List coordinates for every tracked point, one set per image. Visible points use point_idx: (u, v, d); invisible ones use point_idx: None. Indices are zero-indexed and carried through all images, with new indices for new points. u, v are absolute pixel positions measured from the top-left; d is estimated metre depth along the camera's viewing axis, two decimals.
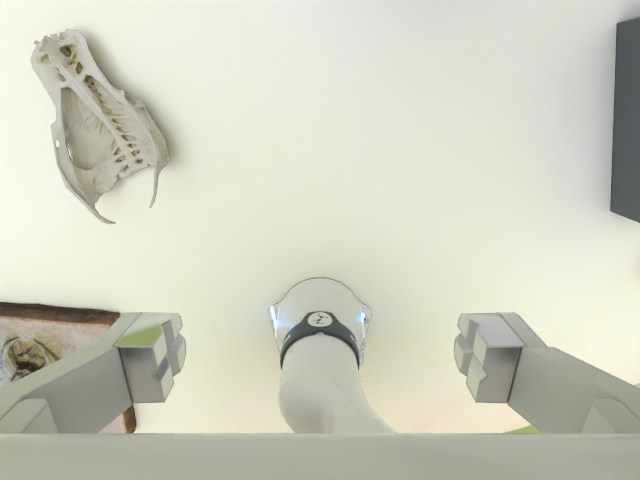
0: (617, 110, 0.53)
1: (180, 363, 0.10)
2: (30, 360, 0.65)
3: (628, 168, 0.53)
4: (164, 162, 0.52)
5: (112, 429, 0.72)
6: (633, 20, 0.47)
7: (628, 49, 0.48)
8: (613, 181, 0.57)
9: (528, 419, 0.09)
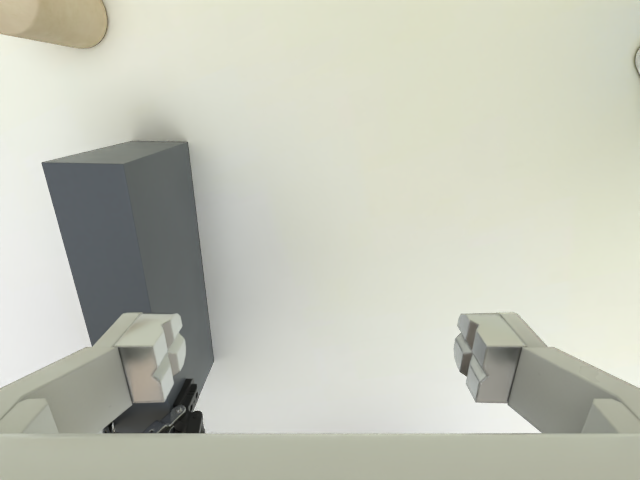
0: (202, 285, 0.42)
1: (180, 363, 0.10)
2: None
3: (185, 226, 0.36)
4: None
5: None
6: (207, 375, 0.44)
7: (205, 350, 0.43)
8: (192, 193, 0.38)
9: (528, 419, 0.09)
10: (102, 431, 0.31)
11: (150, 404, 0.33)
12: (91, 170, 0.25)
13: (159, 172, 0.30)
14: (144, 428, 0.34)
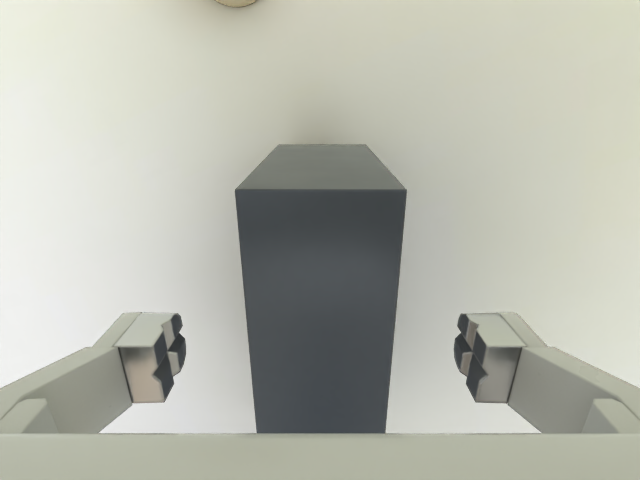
0: None
1: (180, 363, 0.10)
2: None
3: None
4: None
5: None
6: None
7: None
8: None
9: (528, 419, 0.09)
10: None
11: None
12: (336, 204, 0.12)
13: None
14: None
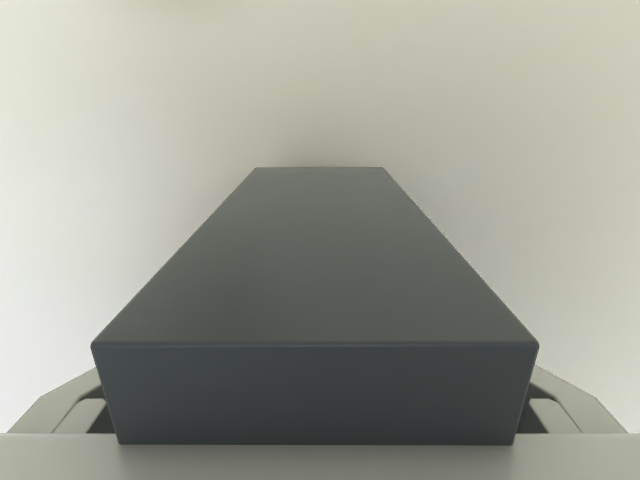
0: None
1: None
2: None
3: None
4: None
5: None
6: None
7: None
8: None
9: None
10: None
11: None
12: (356, 375, 0.05)
13: None
14: None
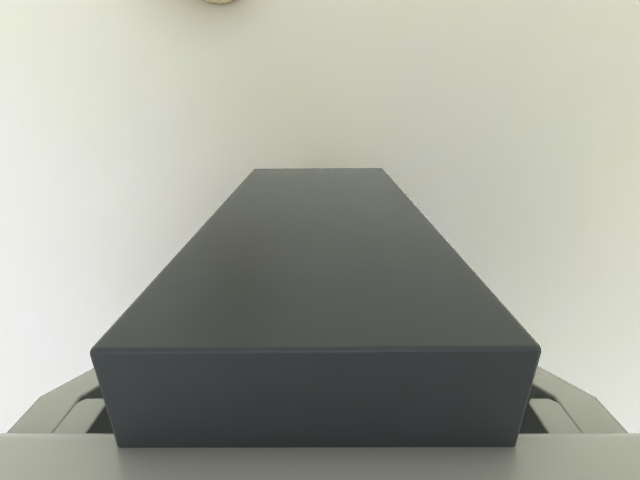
0: None
1: None
2: None
3: None
4: None
5: None
6: None
7: None
8: None
9: None
10: None
11: None
12: (357, 380, 0.05)
13: None
14: None
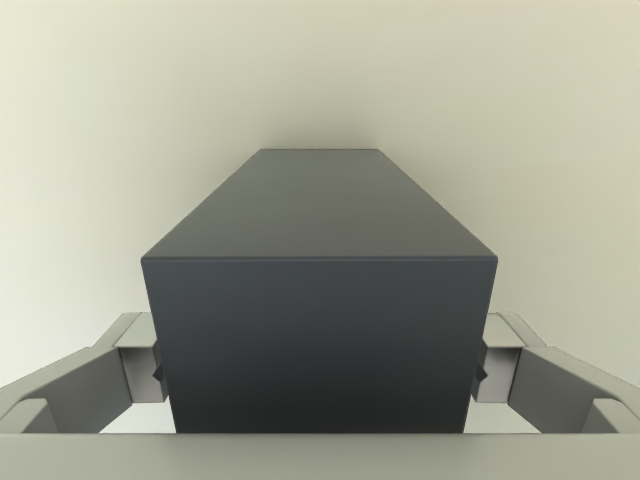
0: None
1: None
2: None
3: None
4: None
5: None
6: None
7: None
8: None
9: (528, 419, 0.09)
10: None
11: None
12: (352, 285, 0.06)
13: None
14: None
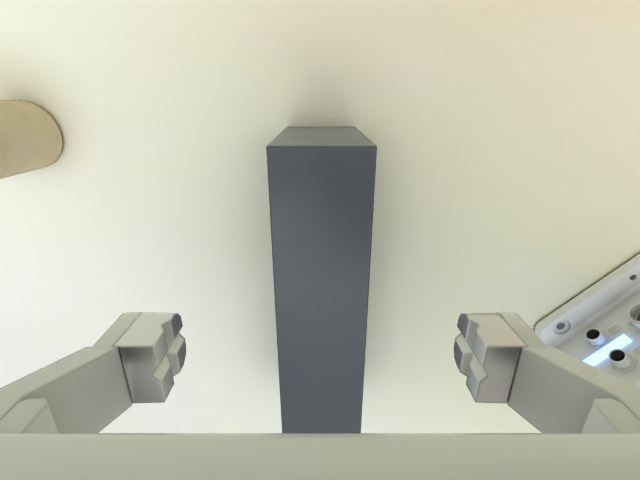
0: None
1: (180, 363, 0.10)
2: None
3: None
4: None
5: None
6: None
7: None
8: None
9: (528, 419, 0.09)
10: None
11: None
12: (331, 155, 0.19)
13: None
14: None
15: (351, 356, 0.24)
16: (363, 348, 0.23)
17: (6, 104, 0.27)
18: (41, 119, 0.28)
